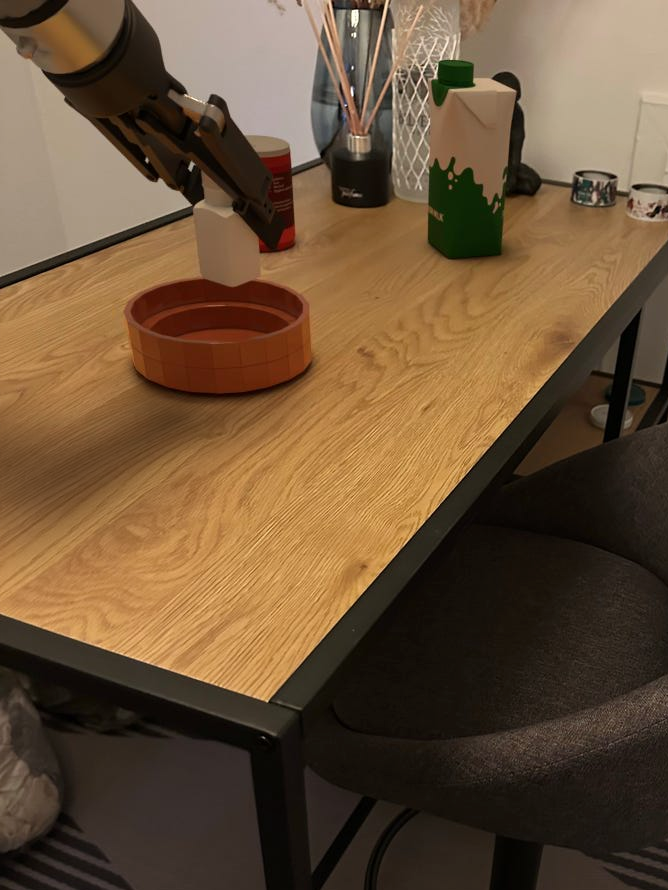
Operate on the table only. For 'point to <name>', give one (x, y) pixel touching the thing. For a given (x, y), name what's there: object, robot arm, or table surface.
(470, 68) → the milk carton
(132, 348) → the bowl
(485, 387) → the table surface
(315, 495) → the table surface
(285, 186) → the canned food
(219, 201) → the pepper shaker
